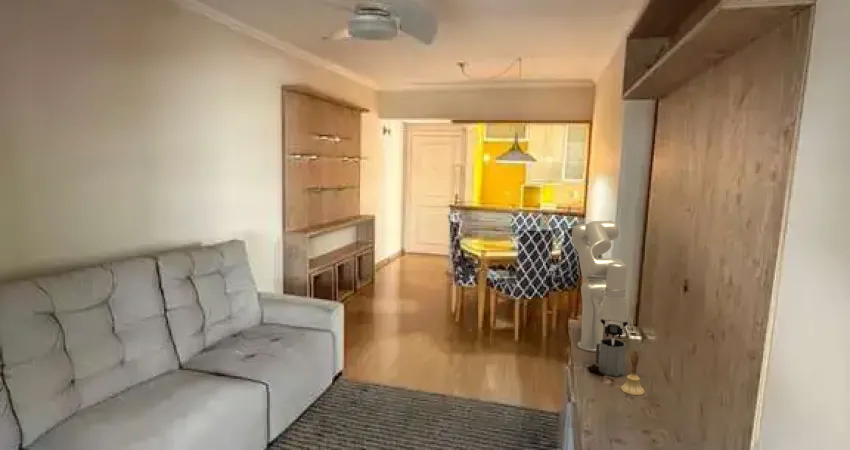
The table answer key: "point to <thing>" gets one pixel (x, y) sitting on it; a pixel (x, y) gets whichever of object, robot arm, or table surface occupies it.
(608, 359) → the grey octagonal cup
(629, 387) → the hand bell
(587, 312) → the robot arm
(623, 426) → the table surface
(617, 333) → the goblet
